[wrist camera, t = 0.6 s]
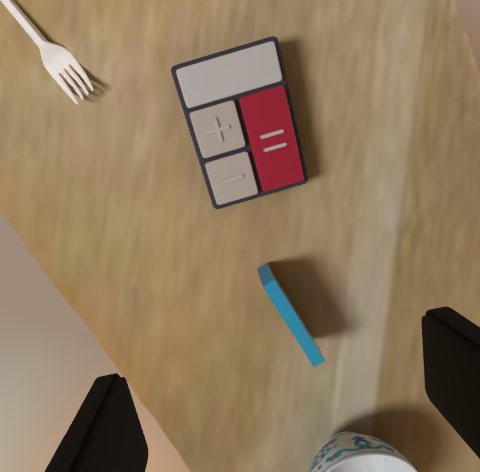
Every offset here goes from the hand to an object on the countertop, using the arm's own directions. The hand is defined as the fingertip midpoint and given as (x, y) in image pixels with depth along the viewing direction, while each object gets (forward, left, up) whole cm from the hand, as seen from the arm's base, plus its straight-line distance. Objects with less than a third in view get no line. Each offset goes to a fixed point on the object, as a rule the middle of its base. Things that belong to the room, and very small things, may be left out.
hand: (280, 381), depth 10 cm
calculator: (-8, -4, -31) cm, 32 cm away
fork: (-6, -29, -31) cm, 43 cm away
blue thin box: (+6, +12, -31) cm, 33 cm away
